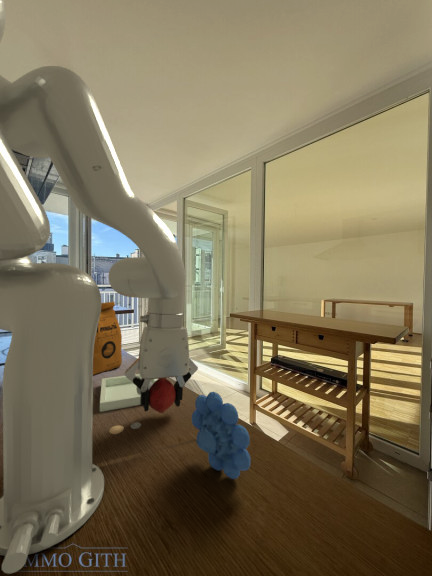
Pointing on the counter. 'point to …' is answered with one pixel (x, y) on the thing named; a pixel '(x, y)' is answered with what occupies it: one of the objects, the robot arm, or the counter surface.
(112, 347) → the coffee package
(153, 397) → the onion
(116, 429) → the tile
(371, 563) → the counter surface
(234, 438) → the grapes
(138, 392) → the ball
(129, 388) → the dish
